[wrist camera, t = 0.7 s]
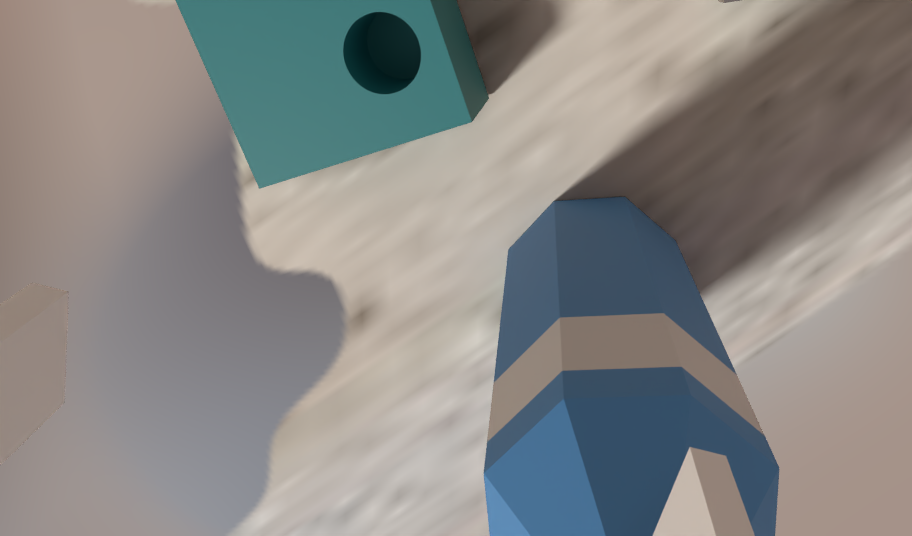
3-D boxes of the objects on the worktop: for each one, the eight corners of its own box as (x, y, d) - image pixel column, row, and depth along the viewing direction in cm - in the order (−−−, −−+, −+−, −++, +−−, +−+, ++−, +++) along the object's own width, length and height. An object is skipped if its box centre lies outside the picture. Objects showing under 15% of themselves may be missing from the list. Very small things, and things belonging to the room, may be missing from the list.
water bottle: (709, 314, 42) (909, 751, 19) (550, 378, 45) (558, 835, 22) (639, 161, 40) (773, 455, 17) (473, 238, 42) (391, 588, 19)
